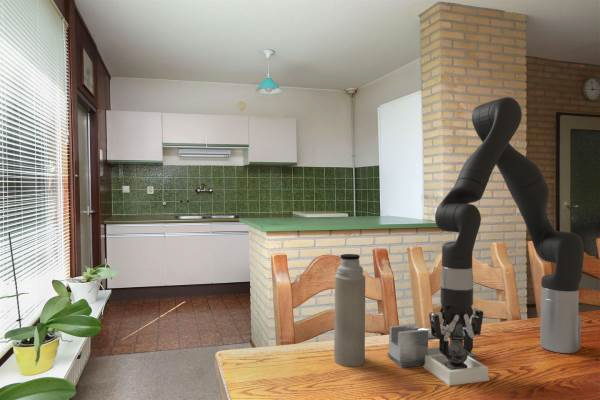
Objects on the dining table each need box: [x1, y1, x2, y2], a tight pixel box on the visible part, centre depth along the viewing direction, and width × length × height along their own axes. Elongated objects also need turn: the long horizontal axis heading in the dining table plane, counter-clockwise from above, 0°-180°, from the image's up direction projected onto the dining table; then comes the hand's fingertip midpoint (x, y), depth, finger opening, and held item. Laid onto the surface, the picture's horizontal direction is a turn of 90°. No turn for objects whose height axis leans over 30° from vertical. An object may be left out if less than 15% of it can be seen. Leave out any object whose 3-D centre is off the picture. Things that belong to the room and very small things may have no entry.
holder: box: [423, 354, 491, 387], centre depth 110 cm, size 11×11×3 cm
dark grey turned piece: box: [445, 324, 469, 370], centre depth 109 cm, size 6×6×12 cm
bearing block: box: [387, 323, 478, 369], centre depth 120 cm, size 22×8×8 cm, turn 106°
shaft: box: [417, 325, 465, 341], centre depth 120 cm, size 13×5×5 cm, turn 106°
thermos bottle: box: [333, 253, 366, 367], centre depth 117 cm, size 8×8×28 cm
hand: (455, 353), depth 110 cm, fingers closed on dark grey turned piece, 5 cm apart
